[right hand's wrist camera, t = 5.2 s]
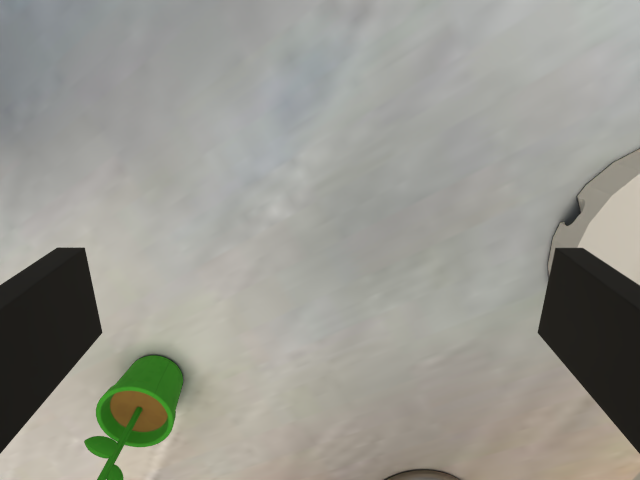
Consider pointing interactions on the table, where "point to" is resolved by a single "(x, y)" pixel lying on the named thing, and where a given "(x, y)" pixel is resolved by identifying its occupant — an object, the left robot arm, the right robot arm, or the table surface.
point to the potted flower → (136, 410)
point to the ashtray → (608, 218)
